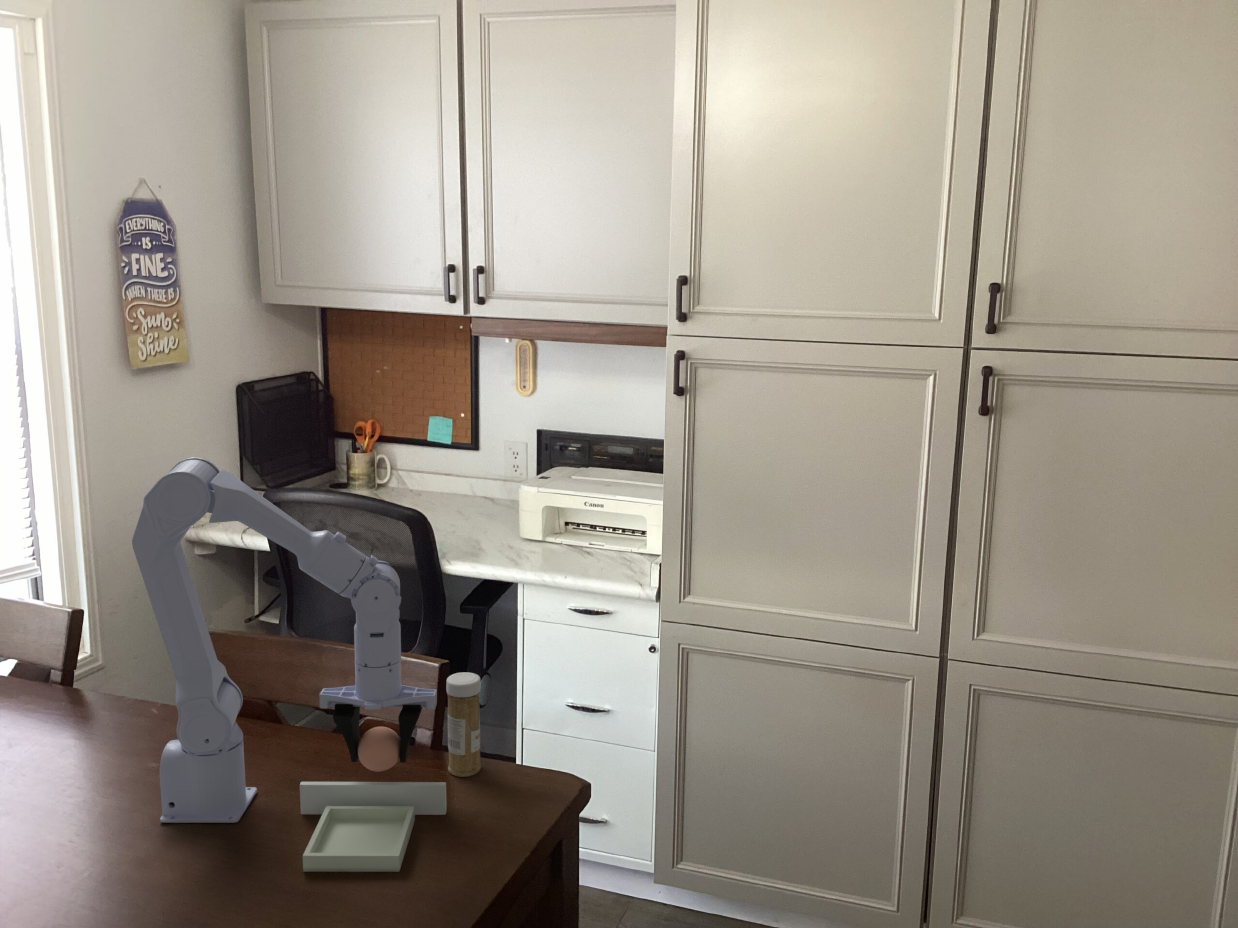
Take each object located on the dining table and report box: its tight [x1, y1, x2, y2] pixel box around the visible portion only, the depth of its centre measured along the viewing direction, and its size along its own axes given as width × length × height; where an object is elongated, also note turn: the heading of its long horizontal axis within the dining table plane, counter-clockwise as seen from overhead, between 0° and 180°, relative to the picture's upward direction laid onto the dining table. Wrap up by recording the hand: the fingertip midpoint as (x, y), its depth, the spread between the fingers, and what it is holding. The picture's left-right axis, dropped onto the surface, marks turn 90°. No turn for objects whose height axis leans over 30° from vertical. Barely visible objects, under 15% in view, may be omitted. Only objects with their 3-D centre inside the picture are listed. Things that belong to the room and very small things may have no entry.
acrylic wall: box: [299, 781, 447, 816], centre depth 128 cm, size 18×1×4 cm, turn 92°
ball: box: [357, 726, 400, 773], centre depth 132 cm, size 6×6×6 cm
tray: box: [302, 806, 416, 873], centre depth 121 cm, size 11×11×2 cm
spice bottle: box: [445, 671, 482, 778], centre depth 139 cm, size 5×5×13 cm
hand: (379, 758), depth 132 cm, fingers closed on ball, 6 cm apart
